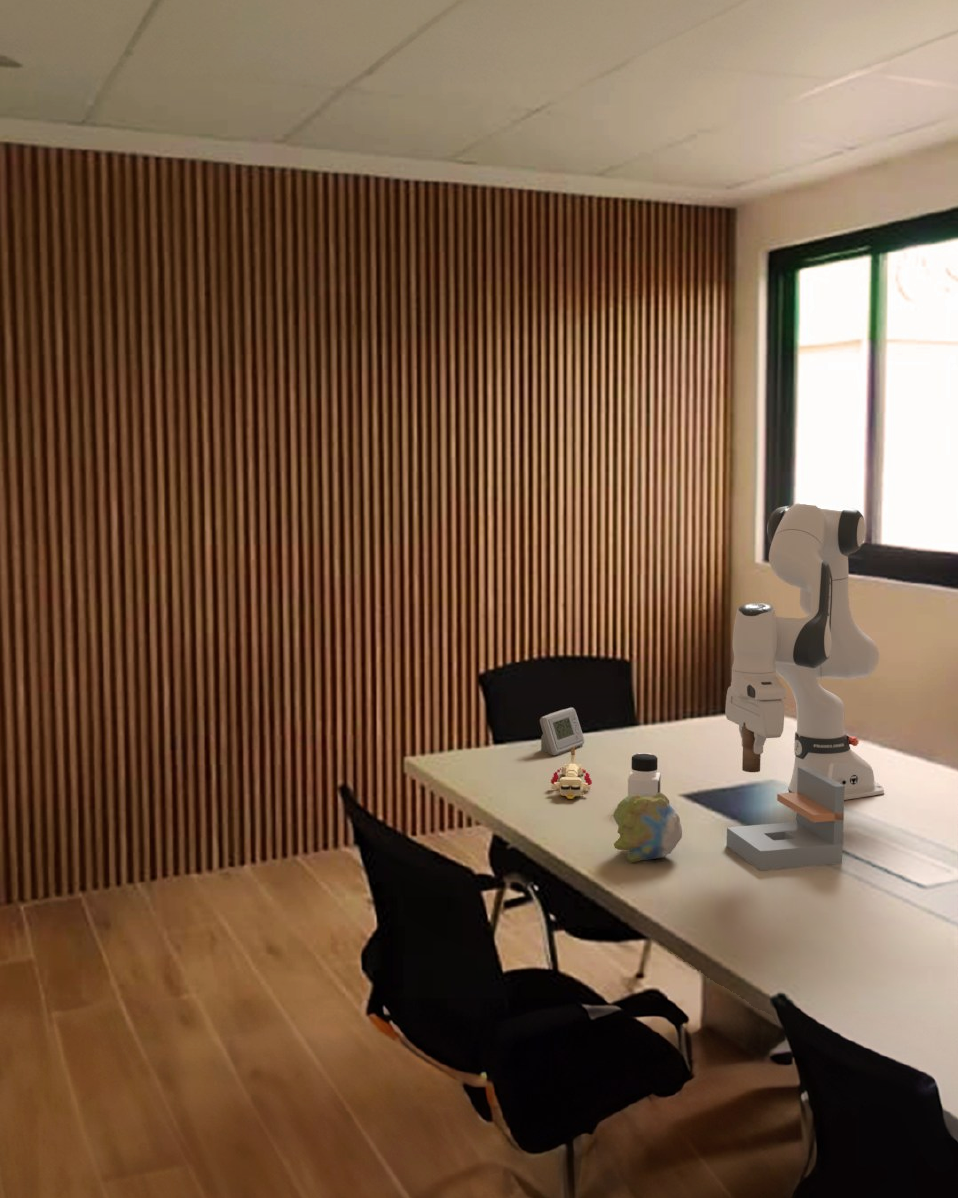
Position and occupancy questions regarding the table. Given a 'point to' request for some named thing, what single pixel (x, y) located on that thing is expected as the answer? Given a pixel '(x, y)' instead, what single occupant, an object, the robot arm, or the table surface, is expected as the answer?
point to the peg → (749, 752)
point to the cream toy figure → (571, 779)
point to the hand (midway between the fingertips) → (752, 750)
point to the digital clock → (561, 731)
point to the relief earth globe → (647, 826)
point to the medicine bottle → (644, 775)
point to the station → (797, 828)
